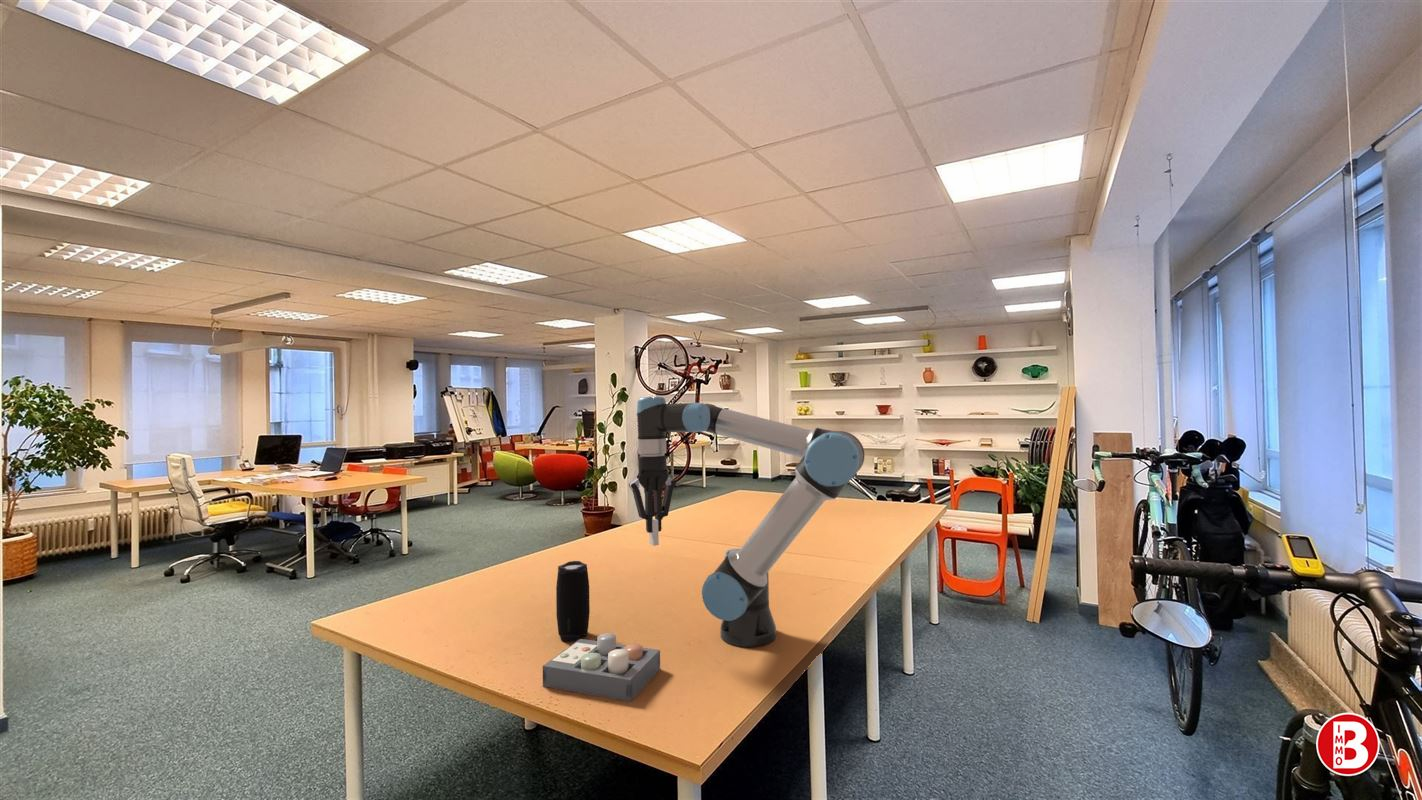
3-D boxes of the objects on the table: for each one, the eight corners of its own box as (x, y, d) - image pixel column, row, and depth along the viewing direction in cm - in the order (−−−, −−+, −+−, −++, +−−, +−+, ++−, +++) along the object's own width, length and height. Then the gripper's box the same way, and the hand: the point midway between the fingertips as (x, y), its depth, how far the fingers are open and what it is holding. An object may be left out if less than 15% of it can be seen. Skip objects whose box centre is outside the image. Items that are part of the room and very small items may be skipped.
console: (660, 669, 126) (659, 648, 126) (630, 701, 112) (630, 678, 112) (580, 656, 133) (580, 637, 133) (542, 686, 119) (542, 664, 119)
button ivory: (632, 670, 119) (631, 650, 119) (622, 680, 115) (622, 659, 115) (614, 668, 120) (614, 648, 120) (604, 677, 116) (604, 656, 116)
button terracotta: (646, 664, 125) (645, 645, 125) (637, 673, 121) (637, 653, 121) (629, 661, 127) (629, 642, 127) (620, 670, 123) (620, 650, 123)
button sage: (604, 674, 121) (604, 654, 121) (594, 683, 117) (594, 662, 117) (587, 671, 122) (587, 651, 123) (577, 680, 118) (576, 660, 118)
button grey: (619, 653, 128) (619, 634, 128) (610, 661, 124) (610, 641, 124) (603, 651, 129) (603, 632, 129) (593, 659, 125) (593, 639, 125)
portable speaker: (569, 628, 152) (568, 559, 153) (596, 632, 148) (596, 562, 149) (549, 639, 144) (548, 566, 145) (577, 645, 140) (576, 570, 141)
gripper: (669, 452, 147) (671, 538, 147) (624, 455, 141) (626, 544, 141) (680, 454, 141) (682, 544, 140) (633, 457, 135) (635, 550, 134)
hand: (654, 544), depth 140 cm, fingers closed
